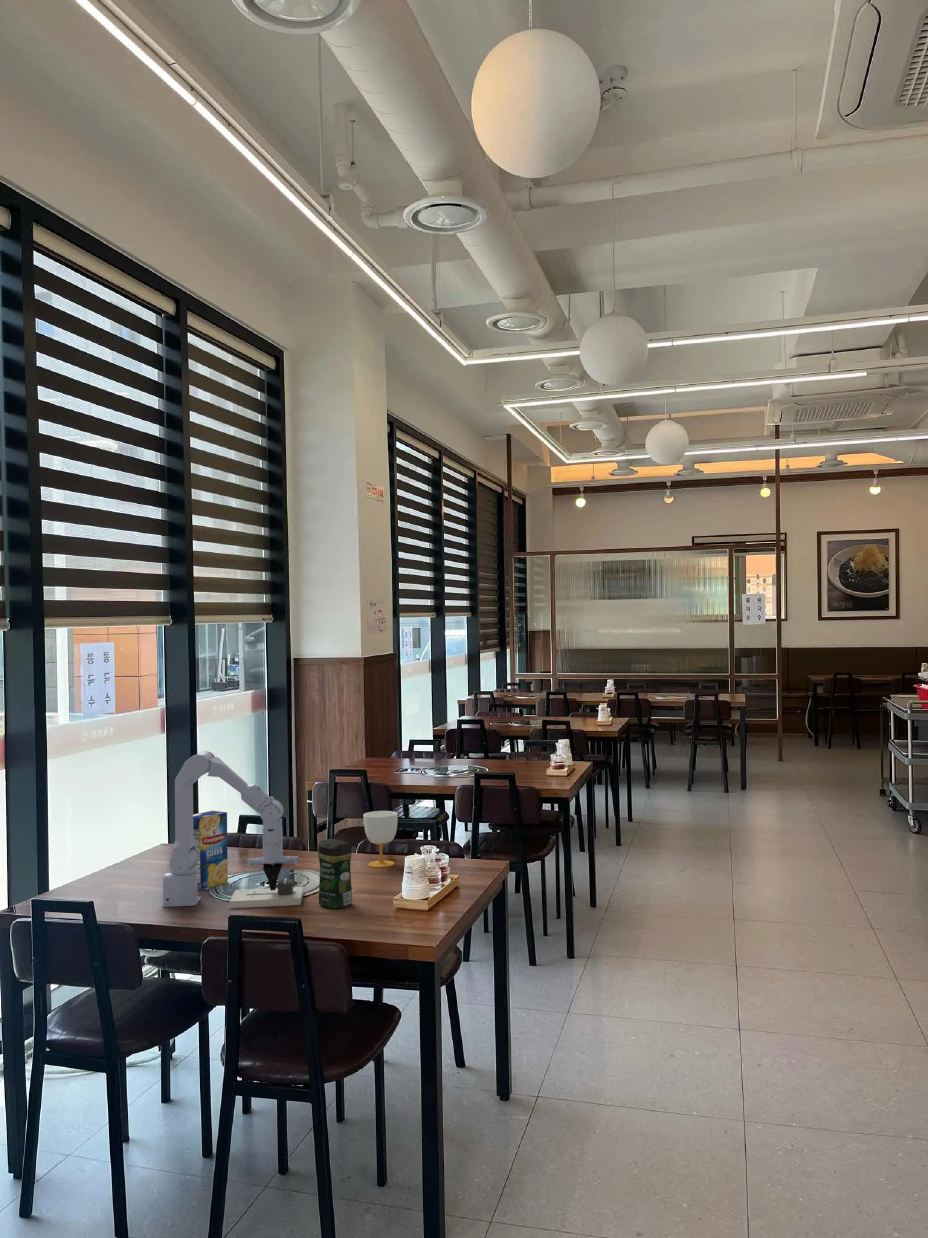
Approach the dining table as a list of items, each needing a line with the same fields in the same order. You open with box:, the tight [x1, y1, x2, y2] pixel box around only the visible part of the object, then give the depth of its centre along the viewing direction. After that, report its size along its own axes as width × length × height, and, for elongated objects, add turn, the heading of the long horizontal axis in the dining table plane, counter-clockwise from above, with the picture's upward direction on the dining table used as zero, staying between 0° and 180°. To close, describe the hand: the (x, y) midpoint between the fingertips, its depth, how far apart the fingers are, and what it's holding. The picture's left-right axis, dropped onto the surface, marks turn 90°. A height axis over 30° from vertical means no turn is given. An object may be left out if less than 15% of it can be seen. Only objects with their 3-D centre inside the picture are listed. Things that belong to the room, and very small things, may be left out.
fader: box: [277, 877, 294, 895], centre depth 264 cm, size 4×5×3 cm
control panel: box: [229, 886, 304, 909], centre depth 263 cm, size 20×12×2 cm, turn 96°
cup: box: [362, 810, 399, 869], centre depth 305 cm, size 12×12×17 cm
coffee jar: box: [317, 838, 353, 910], centre depth 258 cm, size 10×8×19 cm
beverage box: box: [193, 810, 229, 891], centre depth 283 cm, size 7×11×22 cm, turn 147°
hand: (273, 889), depth 263 cm, fingers closed
